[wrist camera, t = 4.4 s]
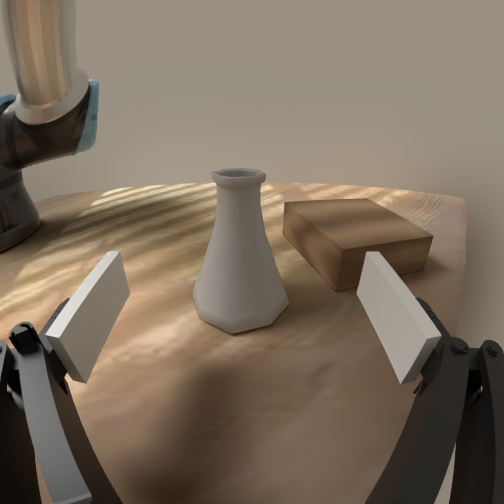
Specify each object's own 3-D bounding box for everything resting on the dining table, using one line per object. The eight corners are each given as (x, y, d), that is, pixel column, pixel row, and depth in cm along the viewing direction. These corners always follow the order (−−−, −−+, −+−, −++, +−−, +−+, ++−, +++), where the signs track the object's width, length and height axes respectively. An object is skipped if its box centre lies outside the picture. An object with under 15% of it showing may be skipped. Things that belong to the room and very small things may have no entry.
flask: (177, 296, 22) (162, 172, 17) (248, 268, 26) (248, 160, 21) (227, 350, 17) (219, 194, 12) (305, 307, 21) (321, 176, 16)
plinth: (282, 234, 33) (284, 202, 31) (362, 226, 36) (366, 198, 34) (335, 291, 22) (343, 249, 21) (423, 269, 26) (433, 235, 24)
